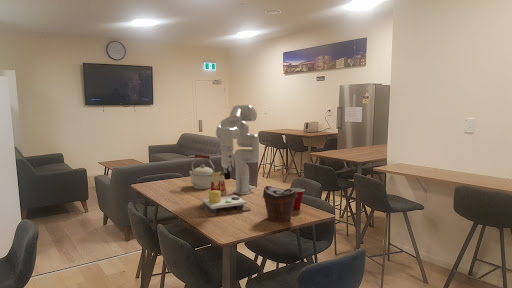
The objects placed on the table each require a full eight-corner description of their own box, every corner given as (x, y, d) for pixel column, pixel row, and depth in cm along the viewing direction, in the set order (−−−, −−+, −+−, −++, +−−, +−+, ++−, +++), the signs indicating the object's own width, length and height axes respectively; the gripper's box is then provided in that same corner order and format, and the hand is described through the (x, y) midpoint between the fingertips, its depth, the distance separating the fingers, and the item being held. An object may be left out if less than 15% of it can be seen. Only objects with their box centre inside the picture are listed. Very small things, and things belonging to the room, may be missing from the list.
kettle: (221, 186, 279) (221, 154, 276) (206, 191, 264) (205, 157, 261) (197, 182, 292) (196, 152, 290) (181, 186, 277) (180, 154, 274)
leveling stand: (237, 202, 234) (237, 196, 234) (250, 210, 216) (250, 204, 216) (198, 207, 223) (198, 201, 222) (209, 216, 205) (209, 210, 205)
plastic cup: (307, 206, 224) (307, 188, 222) (300, 211, 215) (300, 191, 213) (291, 204, 229) (291, 186, 228) (283, 208, 220) (283, 189, 219)
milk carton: (227, 199, 241) (227, 170, 239) (220, 203, 233) (219, 172, 230) (215, 198, 245) (215, 169, 242) (208, 201, 237) (207, 171, 234)
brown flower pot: (303, 221, 196) (303, 189, 194) (268, 225, 191) (268, 192, 189) (290, 212, 213) (290, 182, 211) (258, 215, 208) (258, 185, 206)
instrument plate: (235, 197, 232) (235, 185, 231) (246, 204, 216) (246, 192, 215) (202, 201, 222) (202, 189, 222) (211, 209, 206) (211, 196, 205)
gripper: (237, 150, 208) (237, 181, 210) (228, 147, 221) (228, 176, 223) (225, 150, 205) (225, 182, 207) (216, 147, 218) (217, 177, 220)
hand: (227, 179), depth 215 cm, fingers closed
